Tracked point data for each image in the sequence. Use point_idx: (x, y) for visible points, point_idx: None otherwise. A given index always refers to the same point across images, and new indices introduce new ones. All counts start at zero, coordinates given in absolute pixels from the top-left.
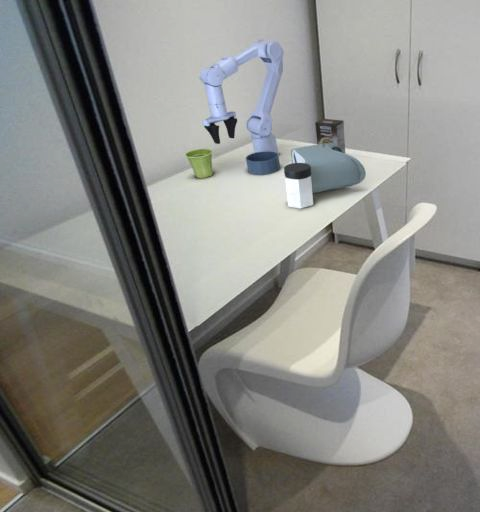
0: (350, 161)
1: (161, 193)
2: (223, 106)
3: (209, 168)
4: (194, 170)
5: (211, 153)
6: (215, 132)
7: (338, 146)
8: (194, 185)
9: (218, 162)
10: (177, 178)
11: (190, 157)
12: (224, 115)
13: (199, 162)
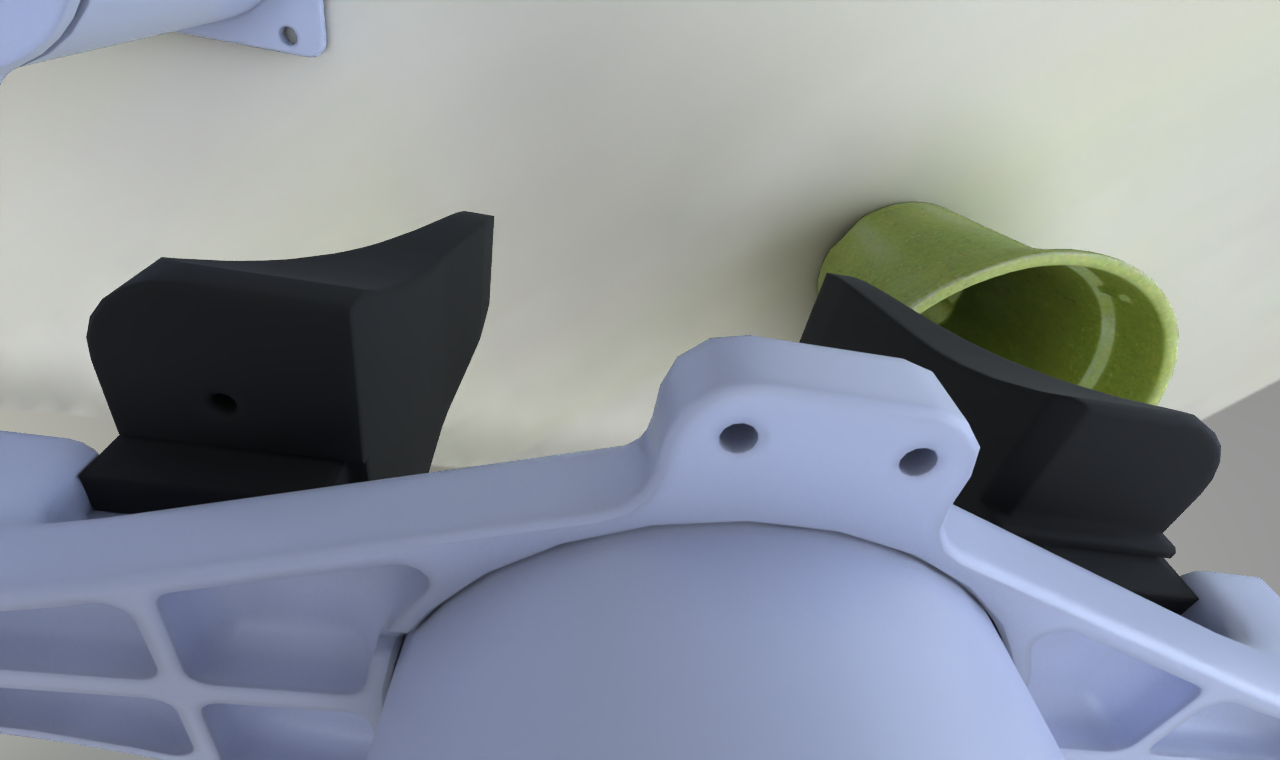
0: None
1: (1266, 359)
2: None
3: (963, 222)
4: (1001, 335)
5: (1011, 255)
6: (1041, 377)
7: None
8: (1151, 211)
9: (551, 344)
10: None
11: (1154, 403)
12: (853, 592)
13: (1091, 304)
